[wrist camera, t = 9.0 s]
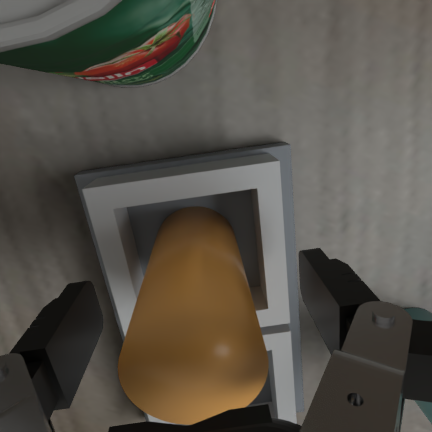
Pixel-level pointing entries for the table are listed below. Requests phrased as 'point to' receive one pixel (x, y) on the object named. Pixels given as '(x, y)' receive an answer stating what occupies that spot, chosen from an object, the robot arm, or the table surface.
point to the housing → (243, 229)
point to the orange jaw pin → (193, 325)
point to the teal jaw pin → (421, 314)
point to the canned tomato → (104, 37)
